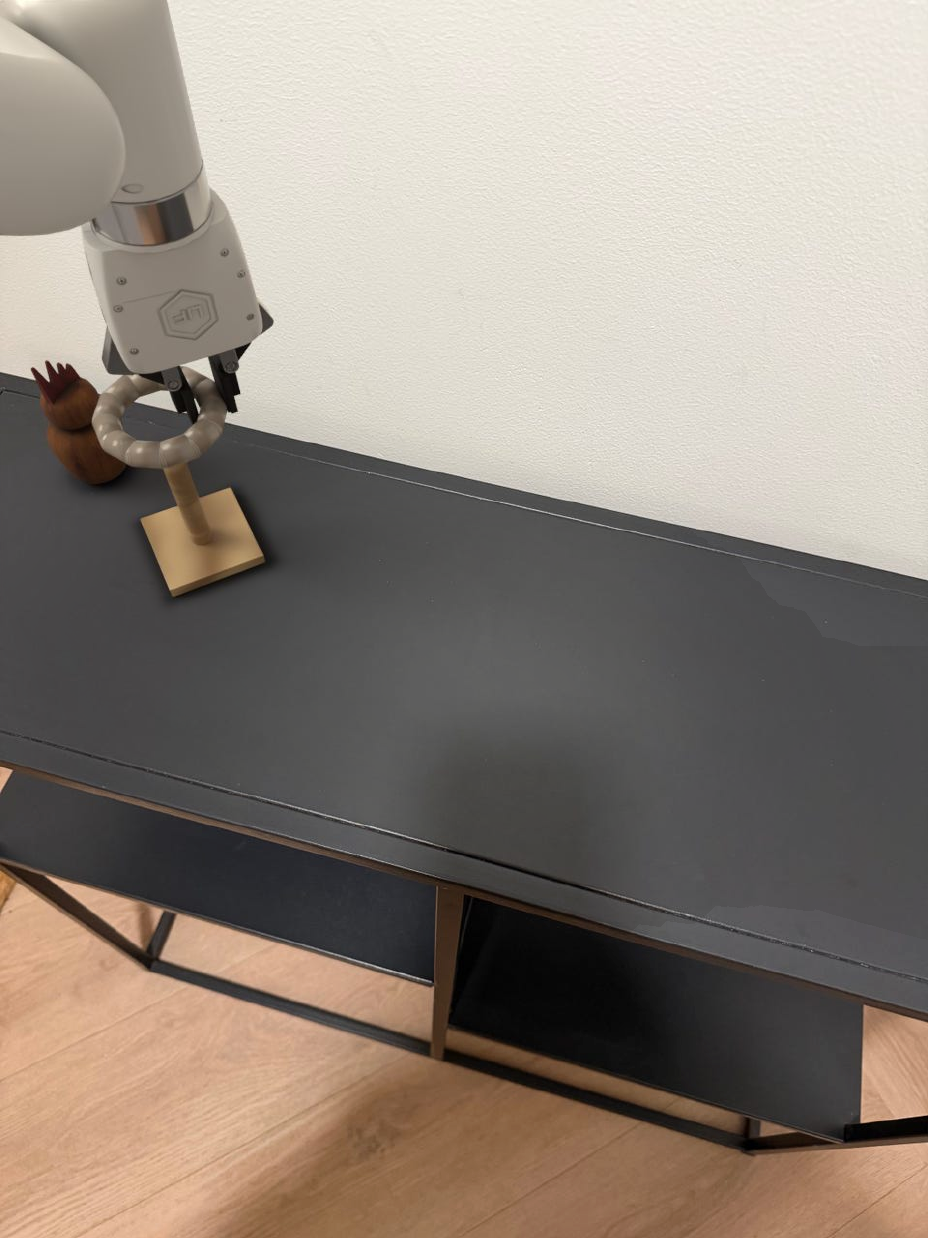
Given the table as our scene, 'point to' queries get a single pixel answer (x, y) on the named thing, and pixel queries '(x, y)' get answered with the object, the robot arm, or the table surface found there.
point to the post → (200, 535)
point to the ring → (169, 450)
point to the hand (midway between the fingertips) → (209, 405)
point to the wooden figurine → (74, 425)
